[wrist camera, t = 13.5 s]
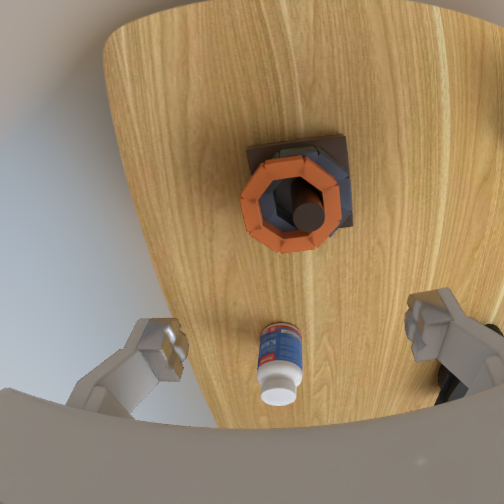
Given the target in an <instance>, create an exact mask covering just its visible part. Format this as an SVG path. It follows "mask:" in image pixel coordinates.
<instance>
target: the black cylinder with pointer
mask: <svg viewBox="0 0 504 504" xmlns="http://www.w3.org/2000/svg"><path fill="white" fill-rule="evenodd" d="M485 326H486V327H488V328H490V329H491V330H493V331H495V332H496V333H498V334H500V335H501V336H503V334H502V332H501V331H500V329H499V328H498V327H497V326H495V325H491V324H488V325H485ZM503 337H504V336H503ZM438 382H439V386H440V388H441V391H440V393H439V396H438V398H437V400H436V402H435V404H434V406H435V405H439V404H443V403H446V402H450V401H453V400H457V399H460V398H463V397H464V396H465V394H466V393H467V391H468V389H469V388H468V387H467V386H466V385H465V384H464V383H462V382H461V381H460V380H459V379H458V378H457V377H456V376H455V375H454V374H453V373H452V372H451V371H449V370H448V369H447V368H446V367H445V366H444V365H443V364H442V365H441V367H440V369H439V373H438Z"/></svg>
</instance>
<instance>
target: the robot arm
mask: <svg viewBox="0 0 504 504" xmlns="http://www.w3.org/2000/svg"><path fill="white" fill-rule="evenodd" d="M407 304H408V307H409V309H408V311H407V312H406V313H405V320H404V322H405V331H406V335H407V338H408V339H409V340H410V341H412V346H411V350H412V352H413V355H414V358H415V361H416V362H422V361H427V360H432V359H437V358H438V359H437V360H438V361H440V362H441V363H442V364H443V365H444V366H445V367H446V368H447V369H448V370H449V371H451V372H452V373H453V374H454V375H455V376H456V377H457V378H458V379H459V380H460V381H461V382H462V383H464V384H465V385H466V386H467V387H468V388H469V389H468V391H467V393H466V394H465V396H464V397H463V398H460V399H457V400H453V401H450V402H446V403H443V404H439V405H435V406H431V407H427V408H423V409H419V410H415V411H410V412H406V413H401V414H396V415H391V416H386V417H380V418H375V419H369V420H362V421H355V422H348V423H340V424H331V425H321V426H310V427H295V428H272V429H228V428H206V427H191V426H179V425H169V424H161V423H152V422H146V421H139V420H135V419H134V418H133V417H132V416H131V415H130V413H131V412H132V411H133V410H134V409H135V408H136V407H137V406H138V405H139V404H140V403H141V402H142V400H143V399H144V398H145V397H146V396H147V395H148V394H149V393H150V392H151V391H152V390H153V389H154V388H155V387H156V386H157V385H158V383H159V381H170V382H171V381H172V382H180V379H181V375H182V372H183V369H184V367H183V365H182V362H183V361H184V360H185V359H186V358H187V356H188V349H189V344H188V340H187V337H186V335H185V334H184V333H183V332H181V331H180V327H181V324H180V322H179V321H178V319H176V318H151V319H142V318H141V319H139V320H138V321H137V323H136V325H135V327H134V329H133V330H132V332H131V334H130V337H129V338H128V341H127V342H126V344H125V346H124V349H119V350H118V351H117V352H115V353H114V354H113V355H111V356H110V357H109V358H108V359H106V360H105V361H104V362H102V363H101V364H100V365H99V366H97V367H96V368H94V369H93V370H92V371H91V372H89V373H88V374H87V375H85V376H84V377H83V378H81V379H80V380H79V381H78V382H77V383H76V385H75V387H74V389H73V391H72V393H71V395H70V397H69V399H68V401H67V403H66V405H62V404H58V403H55V402H52V401H48V400H45V399H42V398H38V397H35V396H32V395H29V394H26V393H23V392H20V391H17V390H15V389H12V388H4V389H2V390H1V391H0V504H504V337H503V336H501V335H500V334H498V333H496V332H495V331H493V330H491V329H490V328H488V327H486V326H485V325H483V324H481V323H480V322H478V321H476V320H475V319H473V318H471V317H466V315H465V313H464V312H463V310H462V308H461V307H460V305H459V303H458V301H457V300H456V298H455V296H454V295H453V293H452V291H451V290H450V288H448V287H445V288H440V289H435V290H431V291H425V292H420V293H414V294H410V295H409V297H408V301H407Z"/></svg>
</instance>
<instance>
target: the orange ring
mask: <svg viewBox="0 0 504 504" xmlns="http://www.w3.org/2000/svg"><path fill="white" fill-rule="evenodd" d="M299 176H301V177H302V178H303V179H305V180H306V181H307V182H309V183H310V184H312V185H313V186H314V187H316V188H317V189H318V190H320V191H321V198H322V206H323V209H324V212H325V221H324V223H323V225H322V226H321V227H320V228H319V229H318V230H316V231H313V232H304V231H302V230H296V231H288V232H282V231H281V230H279V229H278V228H276V227H275V226H273V225H272V224H270V223H269V222H267V221H266V220H264V219H263V216H262V211H261V206H260V201H259V198H260V197H261V196H262V194H263V193H264V192H265V190H266V189H267V188H268V186H269V185H270V184H271V182H272V181H273V180H278V179H285V178H292V177H299ZM240 196H241V197H240V204H241V209H242V213H243V217H244V222H245V226H246V231H247V232H249V235H250V236H252V237H253V238H255V239H256V240H258V241H259V242H261V243H263V244H264V245H266V246H267V247H269V248H270V249H272V250H274V251H275V252H277V253H278V252H279V251H280V252H281V253H290V252H298V251H306V250H313V249H315V246H316V247H319V246H320V245H321V244H322V243H323V242H324V241H325V240H326V238H327V237H328V236H329V235H330V234H331V233H332V232H333V231H334V229H335V228H336V227H337V226H338V225H339V224H340V220H341V219H342V216H341V203H340V192H339V185H338V183H337V182H336V180H335V178H334V177H333V176H332V175H331V174H329V173H328V172H327V171H325V170H324V169H323V168H321V167H320V166H319V165H317V164H316V163H315V162H313V161H312V160H311V159H309V158H308V157H307V156H305V157H304V159H303V157H302V155H298V156H291V157H284V158H277V159H271V160H266V161H265V164H264V163H261V164H260V166H259V167H258V168H257V170H256V171H255V173H254V174H253V175H252V177H251V178H250V180H249V181H248V182H247V184H246V185H245V187H244V188H243V189H242V192H241V195H240Z"/></svg>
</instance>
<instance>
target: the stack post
mask: <svg viewBox="0 0 504 504" xmlns="http://www.w3.org/2000/svg"><path fill="white" fill-rule="evenodd" d="M246 152H247V157H248V162H249V166H250V171H251V176H252V175H253V174H254V173H255V171H256V170H257V168H258V167H259V166H260V164H261V163H264V164H265V161H266V160H271V159H277V158H284V157H291V156H298V155H302V157H303V159H304V157H305V156H307V157H308V158H309V159H311V160H312V161H313V162H315V163H316V164H317V165H319V166H320V167H321V168H323V169H324V170H325V171H327V172H328V173H329V174H331V175H332V176H333V177H334V178H335V180H336V182H337V183H338V185H339V192H340V203H341V216H342V219H341V220H340V224H339V225H338V226H337V227H336V228H335V229H334V231H333V232H332V233H331V234H330V235H329V237H331V236H332V235H333V233H334V232H335V231H336V230H337V229H338V228H343V227H351V226H353V213H352V194H351V181H350V173H349V162H348V152H347V143H346V136H344V135H343V134H336V135H327V136H318V137H310V138H302V139H294V140H287V141H281V142H274V143H268V144H261V145H255V146H250V147H247V149H246ZM259 201H260V206H261V211H262V216H263V219H264V220H266V221H267V222H269V223H270V224H272V225H273V226H275V227H276V228H278V229H279V230H281V231H282V232H288V231H296V230H302V231H304V232H313V231H316V230H318V229H319V228H320V227H321V226H322V225H323V223H324V221H325V212H324V209H323V206H322V198H321V191H320V190H318V189H317V188H316V187H314V186H313V185H312V184H310V183H309V182H307V181H306V180H305V179H303V178H302V177H301V176H299V177H292V178H285V179H278V180H273V181H272V182H271V184H270V185H269V186H268V188H267V189H266V190H265V192H264V193H263V194H262V196H261V197H260V198H259ZM326 239H327V238H326Z"/></svg>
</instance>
